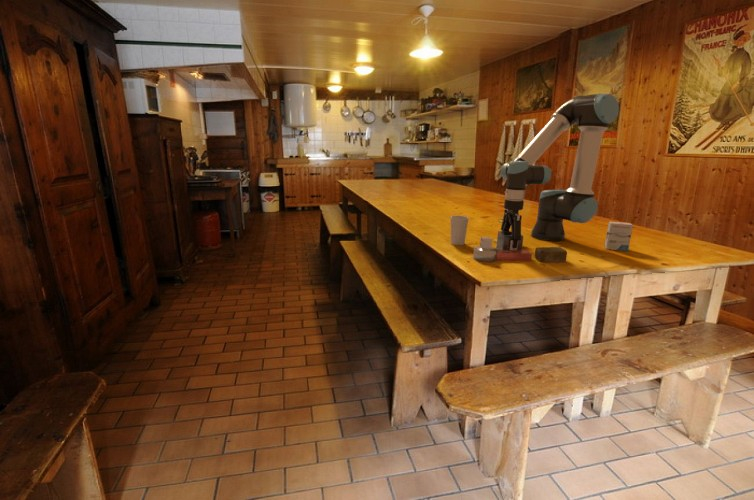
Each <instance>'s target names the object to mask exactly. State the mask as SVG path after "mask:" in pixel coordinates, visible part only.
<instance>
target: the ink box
mask: <svg viewBox="0 0 754 500" xmlns="http://www.w3.org/2000/svg"><path fill="white" fill-rule="evenodd" d="M607 225H608V226H607V231H606V237H605V240H604V241H605V242H604V248H605V249H606V250H609V249H611V250H612V251H620V250H622V252H628V251H629V248H630V242H631V240H632V239H631V237H632V232H633V229H634V228H633V227H634V225H633V224H632V223H630V222H618V221H608V224H607Z"/></svg>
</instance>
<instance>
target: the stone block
mask: <svg viewBox="0 0 754 500" xmlns="http://www.w3.org/2000/svg"><path fill="white" fill-rule="evenodd" d="M567 256H568V252H567V250H566V249H564V248H562V246H558V247H557V246H548V247H547V246H546V247H543V246H542V247H536V248H535V249H534V258H535V259H536V260H537V261H538V262H540V263H566V261H567Z"/></svg>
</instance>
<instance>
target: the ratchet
mask: <svg viewBox="0 0 754 500" xmlns="http://www.w3.org/2000/svg"><path fill="white" fill-rule="evenodd" d="M492 244H493V238H492V237H490V236H481V237H480V244H479V245H478V246H477V245H476V246H474V248H473V256H472V258H473V260H475V261H478V262H482V263H493V262H496V261H512V262H513V261H515V262H517V261H523V262H525V261H528V262H529V261H532V259H533V258H532V257H533V252H531V251H530V250H528V249H522V250H497V249H496V248H495V247H493V245H492Z"/></svg>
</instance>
